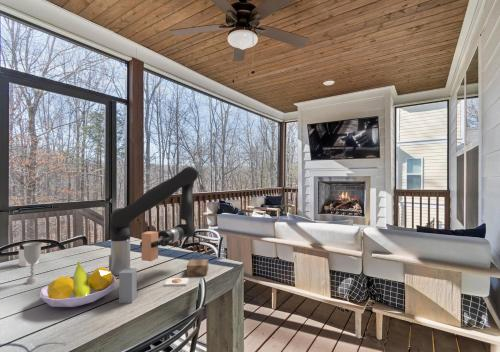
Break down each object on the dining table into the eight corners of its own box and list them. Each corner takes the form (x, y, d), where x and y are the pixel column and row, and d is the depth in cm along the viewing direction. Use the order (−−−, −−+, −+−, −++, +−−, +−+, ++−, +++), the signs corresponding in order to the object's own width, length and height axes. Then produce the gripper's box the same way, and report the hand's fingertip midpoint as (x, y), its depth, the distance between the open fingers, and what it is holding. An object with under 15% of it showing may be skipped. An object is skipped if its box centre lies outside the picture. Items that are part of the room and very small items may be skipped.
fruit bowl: (110, 309, 102) (110, 279, 102) (24, 320, 95) (24, 287, 95) (122, 281, 129) (122, 257, 129) (56, 288, 121) (56, 262, 121)
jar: (22, 262, 156) (22, 241, 156) (40, 261, 159) (40, 240, 159) (16, 267, 148) (16, 245, 148) (35, 265, 151) (35, 244, 151)
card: (164, 285, 124) (164, 283, 124) (167, 280, 131) (167, 278, 131) (186, 285, 125) (186, 283, 125) (188, 279, 132) (188, 277, 132)
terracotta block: (141, 260, 121) (141, 233, 121) (148, 257, 125) (148, 231, 125) (151, 261, 119) (151, 234, 119) (158, 258, 124) (158, 231, 124)
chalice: (20, 286, 123) (20, 246, 123) (24, 281, 129) (24, 243, 129) (40, 283, 127) (40, 244, 127) (43, 278, 133) (43, 241, 133)
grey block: (119, 303, 107) (119, 272, 107) (124, 297, 112) (124, 268, 112) (132, 302, 108) (132, 272, 108) (136, 297, 113) (136, 268, 113)
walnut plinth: (186, 275, 137) (186, 265, 137) (189, 268, 147) (189, 259, 147) (206, 275, 138) (206, 265, 138) (208, 268, 148) (208, 259, 148)
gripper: (156, 228, 138) (132, 235, 122) (181, 230, 134) (160, 237, 118) (155, 243, 138) (132, 252, 122) (180, 245, 134) (160, 255, 118)
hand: (146, 245), depth 120 cm, fingers closed on terracotta block, 5 cm apart
